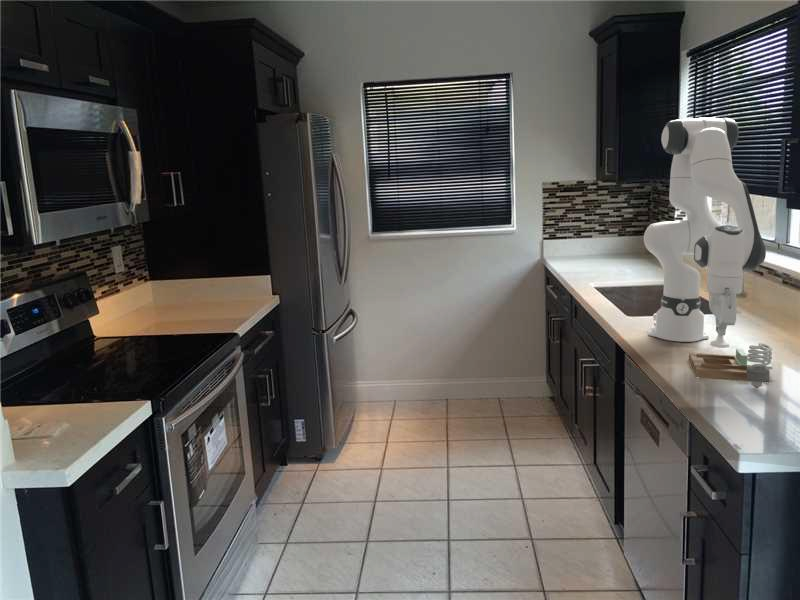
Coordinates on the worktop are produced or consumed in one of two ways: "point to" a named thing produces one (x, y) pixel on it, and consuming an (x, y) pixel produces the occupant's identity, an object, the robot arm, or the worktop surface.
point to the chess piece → (719, 342)
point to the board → (718, 367)
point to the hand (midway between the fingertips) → (720, 333)
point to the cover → (742, 359)
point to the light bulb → (759, 371)
